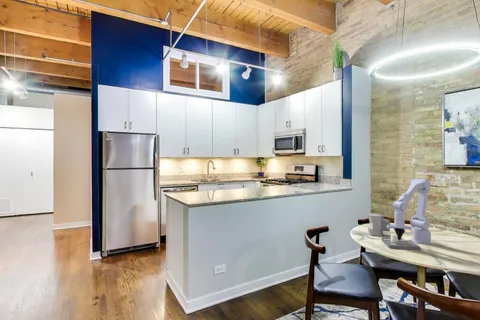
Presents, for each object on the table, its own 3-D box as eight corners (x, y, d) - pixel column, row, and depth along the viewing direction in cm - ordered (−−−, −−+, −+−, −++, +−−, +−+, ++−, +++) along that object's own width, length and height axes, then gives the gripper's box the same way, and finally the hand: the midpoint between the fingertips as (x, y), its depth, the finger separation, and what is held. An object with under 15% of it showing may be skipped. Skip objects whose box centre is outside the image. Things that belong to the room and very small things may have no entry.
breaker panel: (410, 243, 175) (410, 239, 175) (420, 250, 161) (420, 246, 161) (382, 241, 178) (382, 237, 178) (389, 248, 165) (389, 243, 165)
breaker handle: (395, 241, 172) (395, 234, 172) (397, 242, 169) (397, 235, 169) (390, 240, 172) (390, 234, 172) (392, 242, 169) (392, 235, 169)
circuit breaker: (392, 236, 188) (392, 216, 188) (371, 235, 191) (371, 215, 191) (388, 233, 196) (388, 214, 195) (368, 232, 198) (368, 213, 198)
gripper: (389, 220, 167) (389, 240, 167) (414, 221, 164) (414, 242, 164) (385, 217, 174) (385, 237, 174) (409, 218, 171) (409, 239, 171)
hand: (399, 239), depth 170 cm, fingers closed
